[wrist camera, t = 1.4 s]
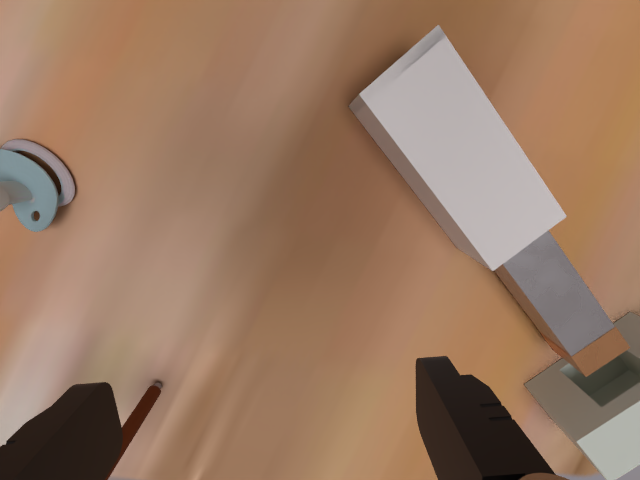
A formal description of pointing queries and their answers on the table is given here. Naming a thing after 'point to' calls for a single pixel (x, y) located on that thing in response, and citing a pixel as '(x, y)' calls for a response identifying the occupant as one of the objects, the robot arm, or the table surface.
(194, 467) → the table surface
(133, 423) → the magnifying glass
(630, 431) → the socket block
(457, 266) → the table surface
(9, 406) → the table surface
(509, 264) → the steel tube
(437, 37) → the grey sleeve
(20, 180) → the pacifier
